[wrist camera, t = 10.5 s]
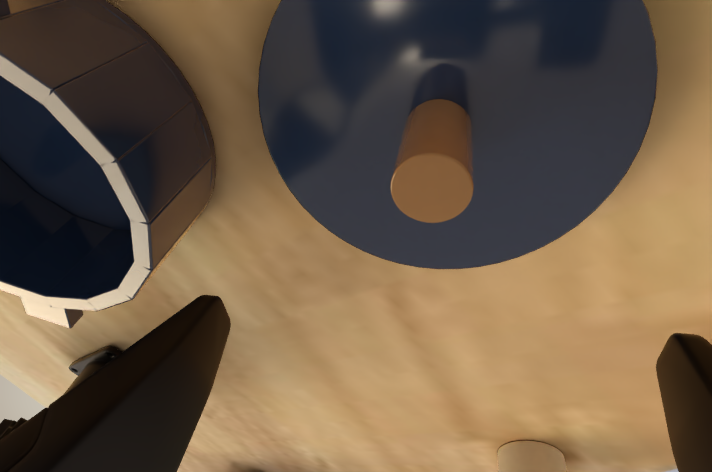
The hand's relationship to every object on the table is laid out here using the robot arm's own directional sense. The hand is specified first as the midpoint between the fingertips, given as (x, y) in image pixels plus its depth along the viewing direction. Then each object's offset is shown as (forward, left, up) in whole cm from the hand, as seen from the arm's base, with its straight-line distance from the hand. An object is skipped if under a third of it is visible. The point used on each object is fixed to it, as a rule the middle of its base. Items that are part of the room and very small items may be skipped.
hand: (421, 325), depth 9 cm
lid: (0, 0, -9) cm, 9 cm away
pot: (-14, +8, -10) cm, 19 cm away
